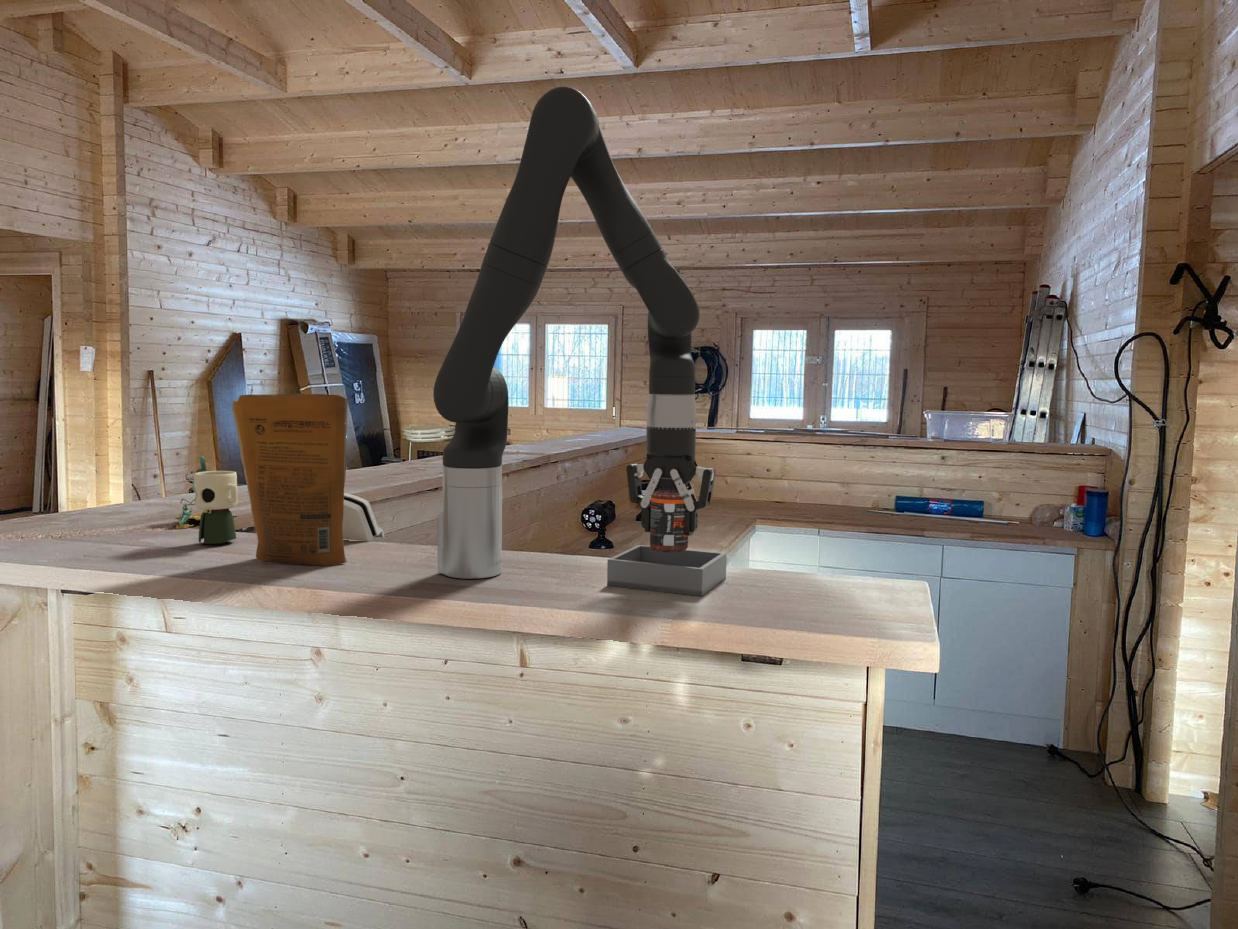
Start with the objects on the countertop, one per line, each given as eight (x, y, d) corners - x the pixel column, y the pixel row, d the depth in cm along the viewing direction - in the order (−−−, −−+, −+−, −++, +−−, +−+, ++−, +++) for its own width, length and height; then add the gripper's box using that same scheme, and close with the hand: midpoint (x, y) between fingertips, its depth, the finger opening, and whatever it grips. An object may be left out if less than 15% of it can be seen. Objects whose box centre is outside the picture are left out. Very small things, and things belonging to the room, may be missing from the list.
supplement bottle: (677, 554, 132) (679, 479, 131) (642, 550, 135) (643, 477, 134) (694, 548, 137) (696, 476, 136) (660, 544, 140) (661, 473, 139)
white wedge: (386, 536, 170) (374, 490, 166) (372, 549, 166) (360, 502, 162) (315, 530, 176) (303, 485, 172) (300, 541, 172) (287, 496, 168)
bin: (607, 585, 134) (607, 559, 133) (638, 568, 146) (638, 544, 145) (701, 596, 128) (702, 569, 128) (726, 578, 140) (726, 553, 140)
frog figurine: (147, 527, 176) (151, 453, 176) (216, 523, 193) (219, 456, 193) (185, 530, 173) (188, 455, 173) (251, 526, 190) (254, 458, 190)
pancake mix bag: (340, 570, 141) (337, 394, 138) (233, 563, 145) (228, 392, 142) (360, 561, 148) (358, 394, 145) (257, 555, 151) (253, 391, 148)
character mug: (180, 543, 160) (178, 472, 159) (215, 537, 166) (213, 469, 165) (219, 550, 155) (217, 476, 154) (254, 543, 161) (252, 473, 160)
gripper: (618, 423, 133) (616, 533, 135) (709, 426, 128) (706, 541, 130) (636, 421, 140) (634, 525, 142) (723, 424, 135) (721, 533, 137)
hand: (669, 532), depth 136 cm, fingers closed on supplement bottle, 6 cm apart
